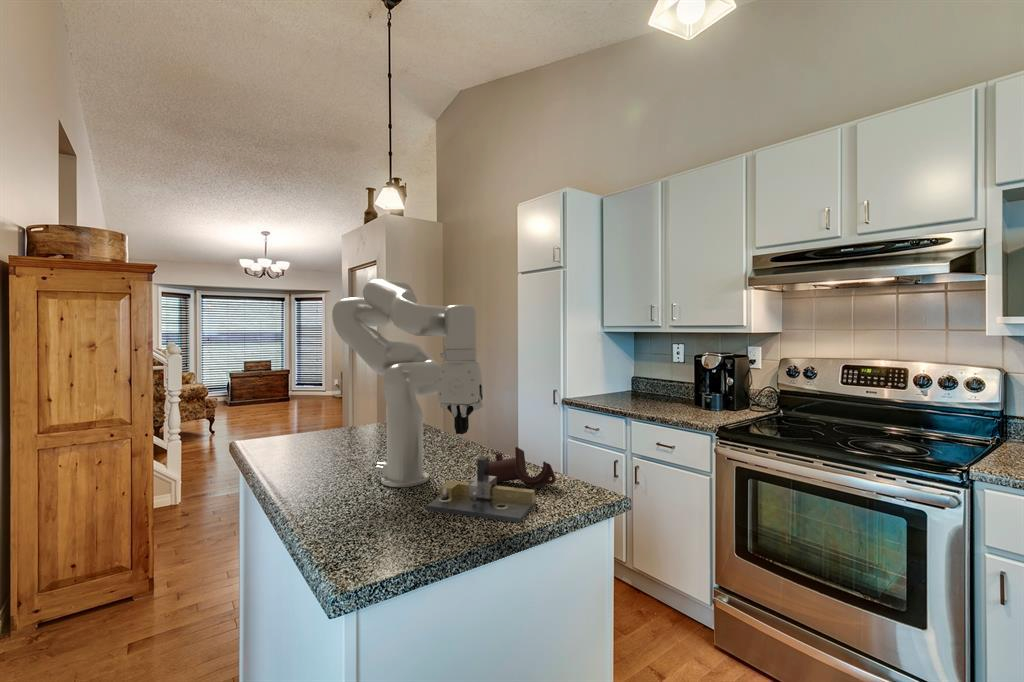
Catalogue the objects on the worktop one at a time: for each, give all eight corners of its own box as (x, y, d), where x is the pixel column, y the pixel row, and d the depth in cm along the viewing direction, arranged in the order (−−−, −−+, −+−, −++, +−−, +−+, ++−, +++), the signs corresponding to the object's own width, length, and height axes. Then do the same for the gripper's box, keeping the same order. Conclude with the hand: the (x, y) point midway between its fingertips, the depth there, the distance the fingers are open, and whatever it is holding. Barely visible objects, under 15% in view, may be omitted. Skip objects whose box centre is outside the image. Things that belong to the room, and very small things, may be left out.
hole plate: (426, 510, 105) (426, 504, 105) (450, 493, 117) (450, 488, 117) (520, 523, 98) (520, 517, 98) (536, 503, 110) (536, 498, 110)
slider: (463, 501, 107) (463, 463, 107) (477, 490, 115) (477, 454, 115) (483, 503, 106) (483, 465, 105) (496, 492, 113) (496, 456, 113)
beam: (436, 498, 110) (436, 488, 110) (448, 490, 116) (448, 480, 116) (526, 510, 102) (526, 499, 102) (534, 500, 109) (534, 490, 109)
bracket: (553, 481, 117) (548, 441, 121) (488, 490, 121) (485, 451, 125) (558, 484, 123) (553, 445, 127) (496, 492, 126) (493, 455, 130)
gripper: (425, 357, 112) (426, 434, 112) (483, 357, 107) (484, 438, 107) (440, 356, 119) (441, 428, 119) (495, 356, 114) (496, 431, 114)
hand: (461, 432), depth 113 cm, fingers closed
